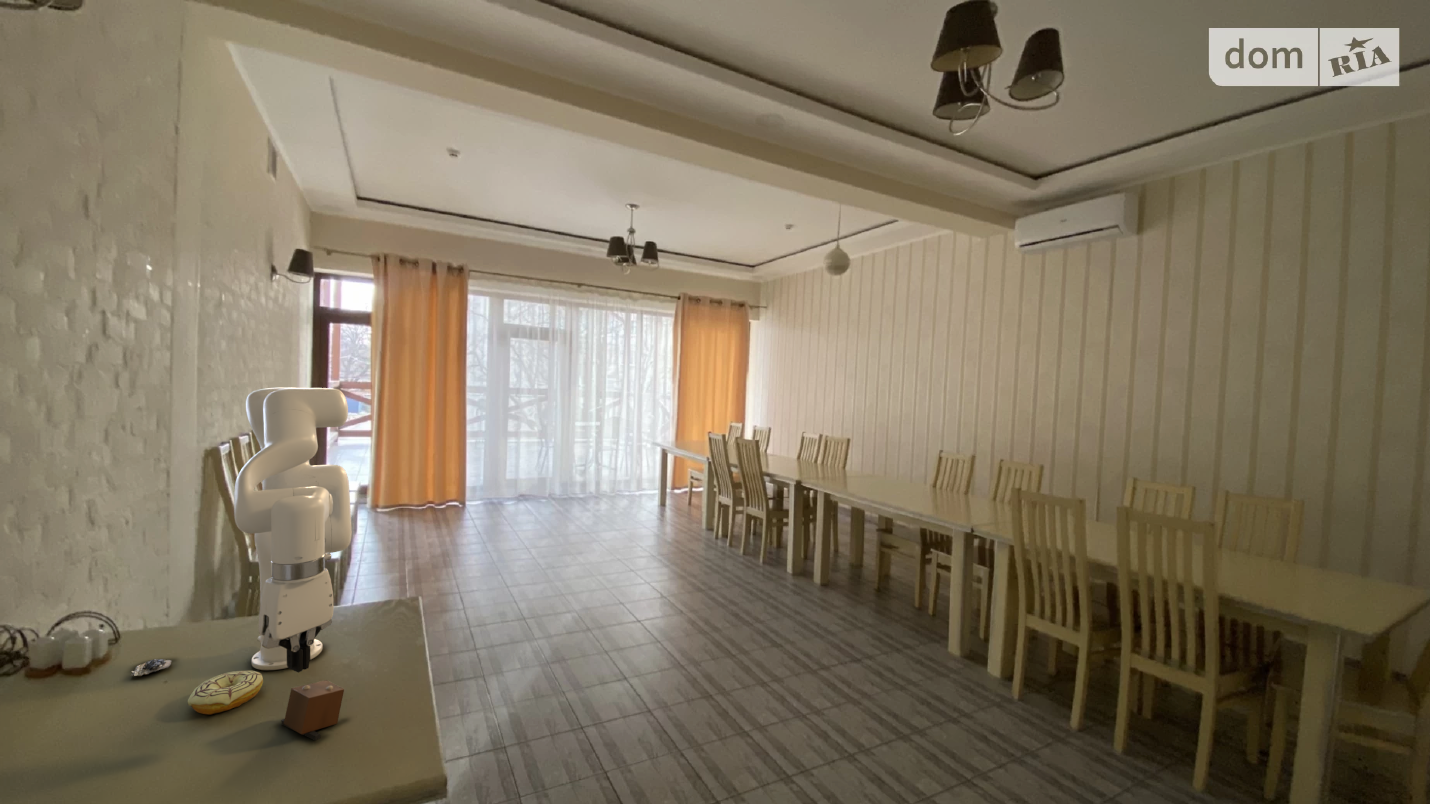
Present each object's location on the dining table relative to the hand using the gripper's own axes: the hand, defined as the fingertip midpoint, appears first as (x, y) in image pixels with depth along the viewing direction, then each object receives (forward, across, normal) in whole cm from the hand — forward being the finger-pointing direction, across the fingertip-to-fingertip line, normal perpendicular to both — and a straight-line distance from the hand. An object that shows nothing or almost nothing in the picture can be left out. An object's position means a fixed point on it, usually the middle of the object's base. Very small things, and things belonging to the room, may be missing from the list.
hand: (298, 668), depth 100 cm
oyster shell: (+13, +2, -48) cm, 50 cm away
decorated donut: (+12, +1, -21) cm, 24 cm away
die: (+7, +1, +1) cm, 7 cm away
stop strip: (+11, 0, +1) cm, 11 cm away
